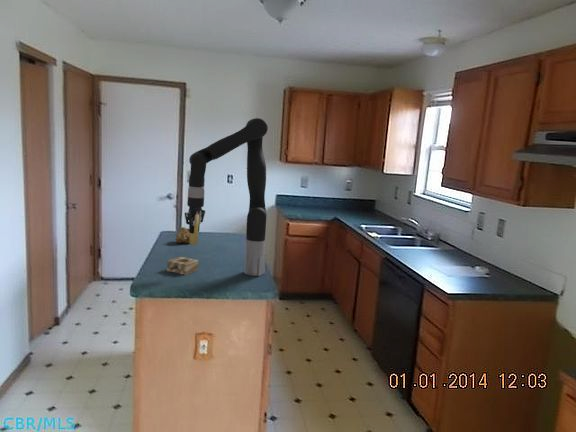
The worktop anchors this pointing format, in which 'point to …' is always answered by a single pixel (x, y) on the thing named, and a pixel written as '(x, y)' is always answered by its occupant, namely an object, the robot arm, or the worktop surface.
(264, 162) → the robot arm
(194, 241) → the peg
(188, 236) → the rock
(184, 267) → the socket mount
